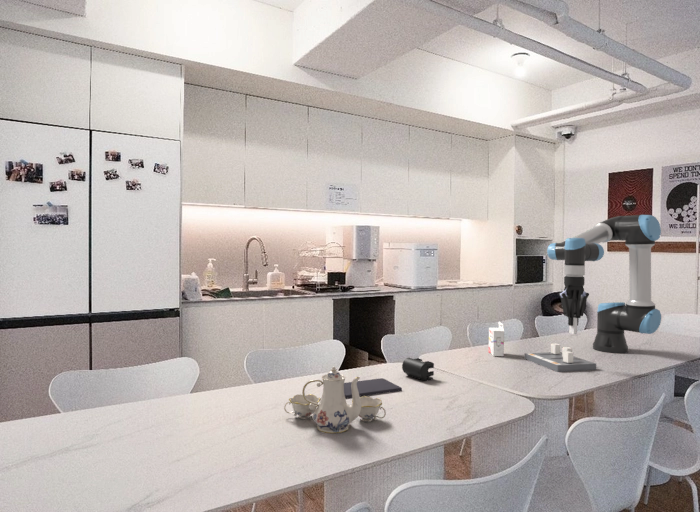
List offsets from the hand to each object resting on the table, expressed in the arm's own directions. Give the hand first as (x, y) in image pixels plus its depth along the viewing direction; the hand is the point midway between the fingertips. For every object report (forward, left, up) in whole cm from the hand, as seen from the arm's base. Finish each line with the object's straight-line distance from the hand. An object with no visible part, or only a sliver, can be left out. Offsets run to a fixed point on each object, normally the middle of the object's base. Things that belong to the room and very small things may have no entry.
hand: (573, 333), depth 195 cm
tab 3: (+3, +1, -11) cm, 12 cm away
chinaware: (+108, +41, -15) cm, 116 cm away
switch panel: (+1, -7, -14) cm, 16 cm away
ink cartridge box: (+18, -28, -14) cm, 36 cm away
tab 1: (-3, -14, -11) cm, 18 cm away
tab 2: (-3, -7, -11) cm, 13 cm away
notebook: (+91, +12, -15) cm, 93 cm away
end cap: (+68, +2, -14) cm, 70 cm away
